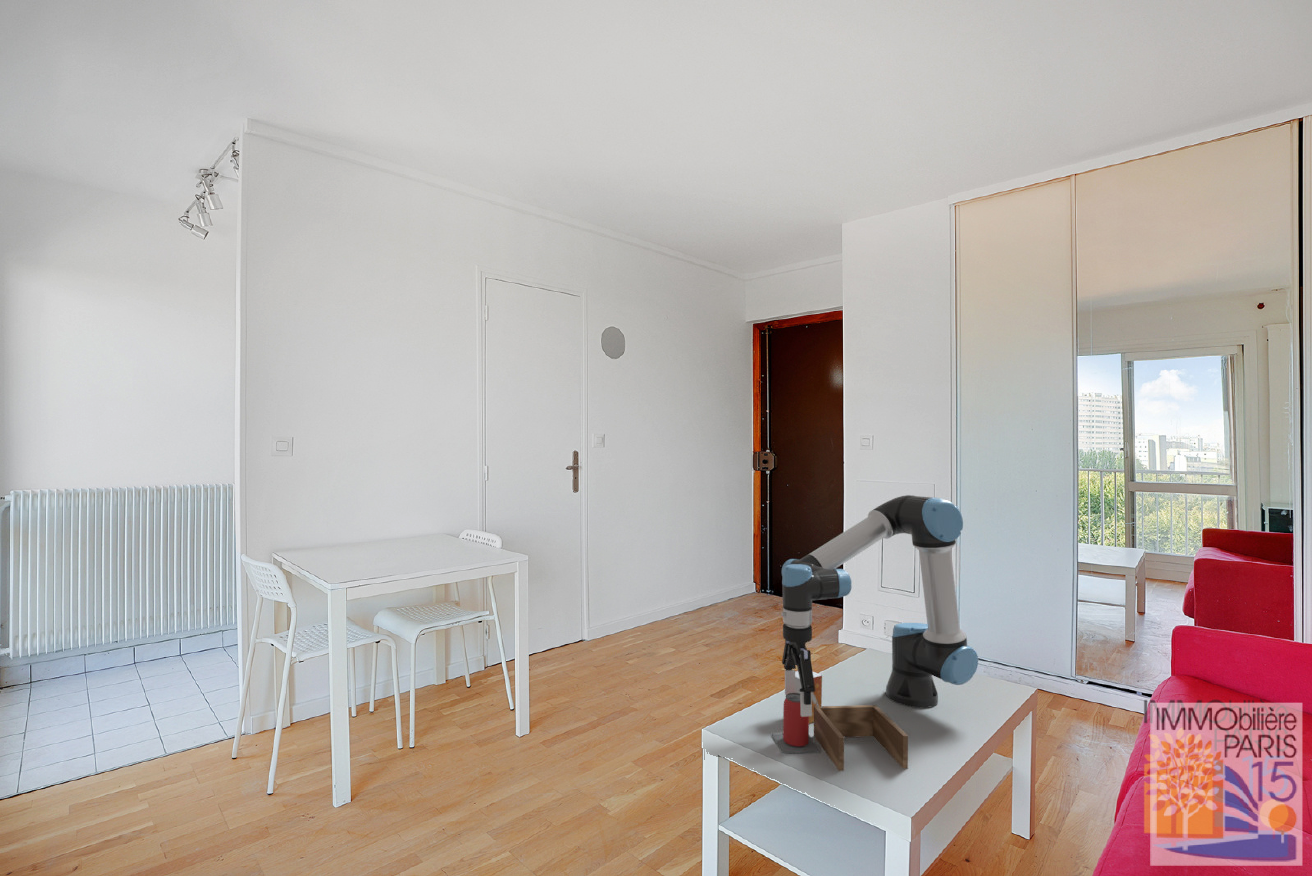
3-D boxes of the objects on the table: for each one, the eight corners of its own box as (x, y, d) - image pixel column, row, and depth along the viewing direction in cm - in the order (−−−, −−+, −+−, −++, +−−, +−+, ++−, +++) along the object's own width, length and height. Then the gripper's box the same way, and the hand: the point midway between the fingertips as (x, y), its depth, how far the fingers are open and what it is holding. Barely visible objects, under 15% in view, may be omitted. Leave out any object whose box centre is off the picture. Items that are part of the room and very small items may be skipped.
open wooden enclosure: (875, 734, 173) (875, 705, 173) (907, 768, 155) (908, 735, 155) (813, 736, 171) (814, 706, 171) (838, 770, 153) (839, 737, 153)
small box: (802, 726, 177) (802, 680, 177) (785, 718, 182) (786, 673, 182) (822, 720, 181) (822, 674, 181) (805, 712, 187) (806, 668, 187)
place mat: (808, 734, 172) (808, 733, 172) (820, 752, 162) (820, 751, 162) (772, 735, 171) (772, 734, 171) (782, 753, 161) (782, 752, 161)
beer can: (780, 736, 170) (780, 692, 170) (803, 736, 170) (804, 691, 170) (787, 748, 163) (787, 702, 163) (812, 747, 164) (812, 701, 164)
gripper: (770, 611, 179) (771, 686, 179) (798, 639, 154) (798, 726, 154) (796, 610, 180) (796, 685, 180) (828, 638, 155) (828, 725, 155)
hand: (797, 704), depth 167 cm, fingers open, 13 cm apart
